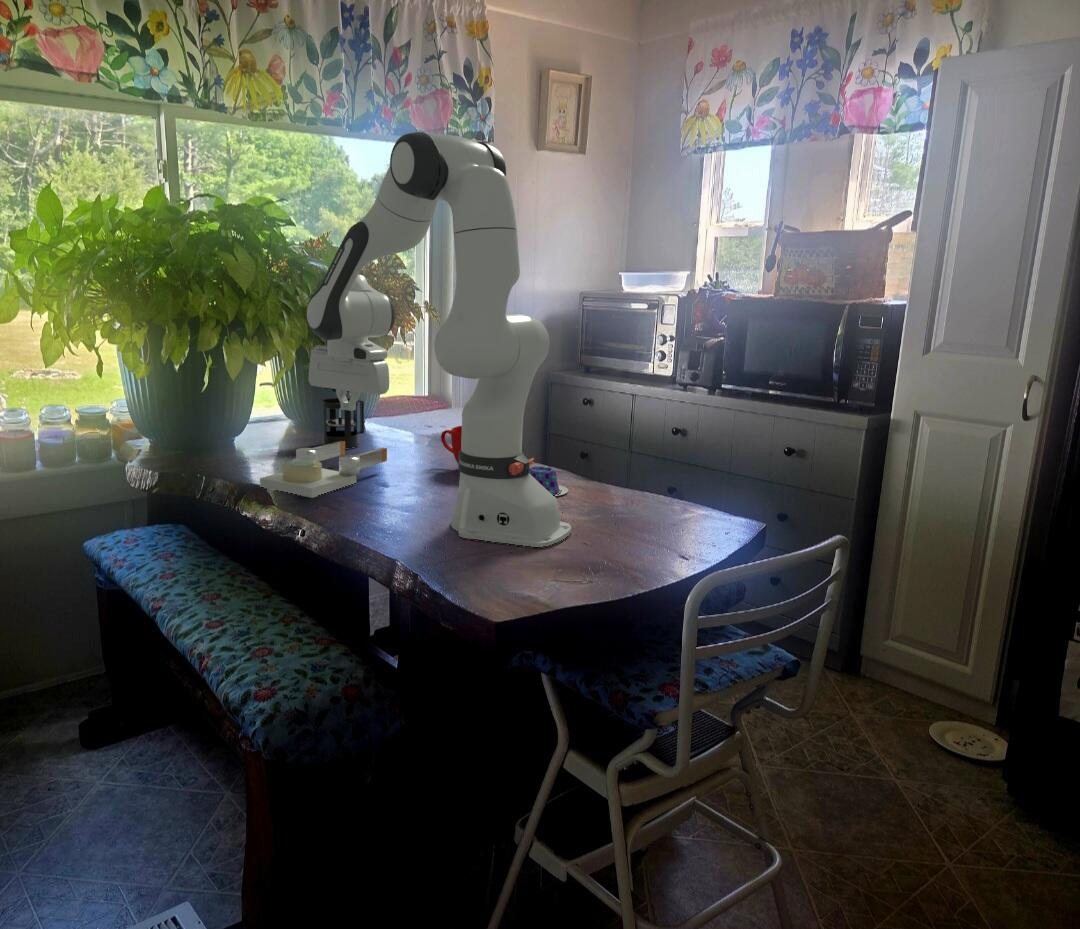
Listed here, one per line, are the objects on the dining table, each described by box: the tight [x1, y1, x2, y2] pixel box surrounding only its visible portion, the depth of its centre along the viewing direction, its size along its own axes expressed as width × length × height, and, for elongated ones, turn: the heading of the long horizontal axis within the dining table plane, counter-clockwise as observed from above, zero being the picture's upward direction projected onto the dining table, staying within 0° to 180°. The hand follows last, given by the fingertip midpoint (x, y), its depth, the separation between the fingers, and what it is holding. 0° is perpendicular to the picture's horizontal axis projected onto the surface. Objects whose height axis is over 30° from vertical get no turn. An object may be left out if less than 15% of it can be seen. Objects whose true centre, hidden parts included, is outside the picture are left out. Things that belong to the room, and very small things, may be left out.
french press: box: [321, 387, 365, 448], centre depth 210 cm, size 12×9×23 cm
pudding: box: [529, 465, 569, 497], centre depth 176 cm, size 12×12×5 cm
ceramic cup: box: [440, 425, 462, 464], centre depth 191 cm, size 13×17×10 cm
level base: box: [259, 457, 357, 499], centre depth 172 cm, size 14×14×6 cm
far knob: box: [295, 441, 346, 462], centre depth 184 cm, size 15×4×4 cm, turn 154°
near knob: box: [338, 447, 388, 476], centre depth 179 cm, size 15×4×4 cm, turn 154°
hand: (348, 410), depth 182 cm, fingers closed
